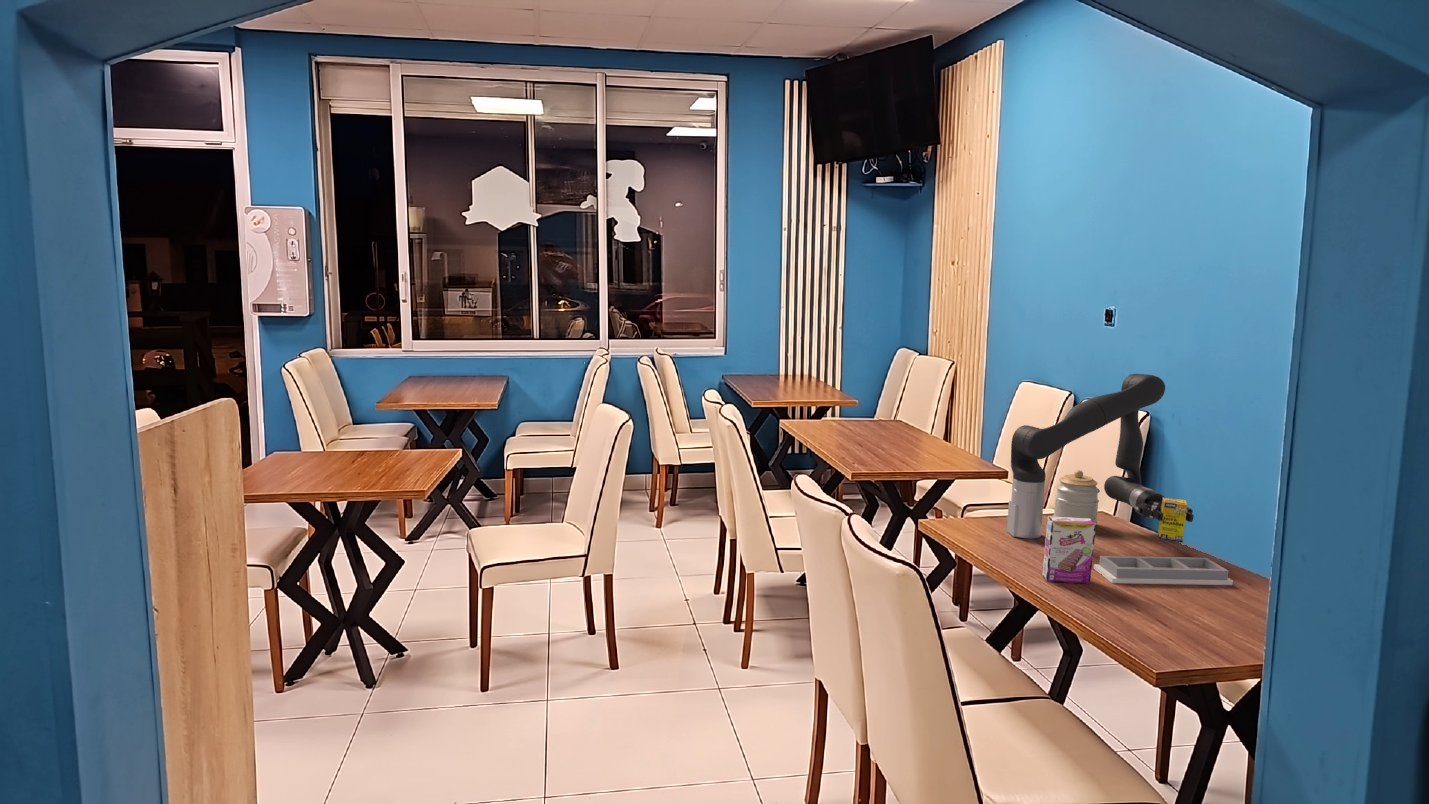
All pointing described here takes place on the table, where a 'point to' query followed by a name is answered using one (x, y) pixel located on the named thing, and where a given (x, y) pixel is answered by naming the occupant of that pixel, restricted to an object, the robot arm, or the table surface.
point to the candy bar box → (1068, 549)
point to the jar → (1077, 497)
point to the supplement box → (1172, 519)
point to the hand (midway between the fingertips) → (1176, 517)
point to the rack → (1162, 570)
